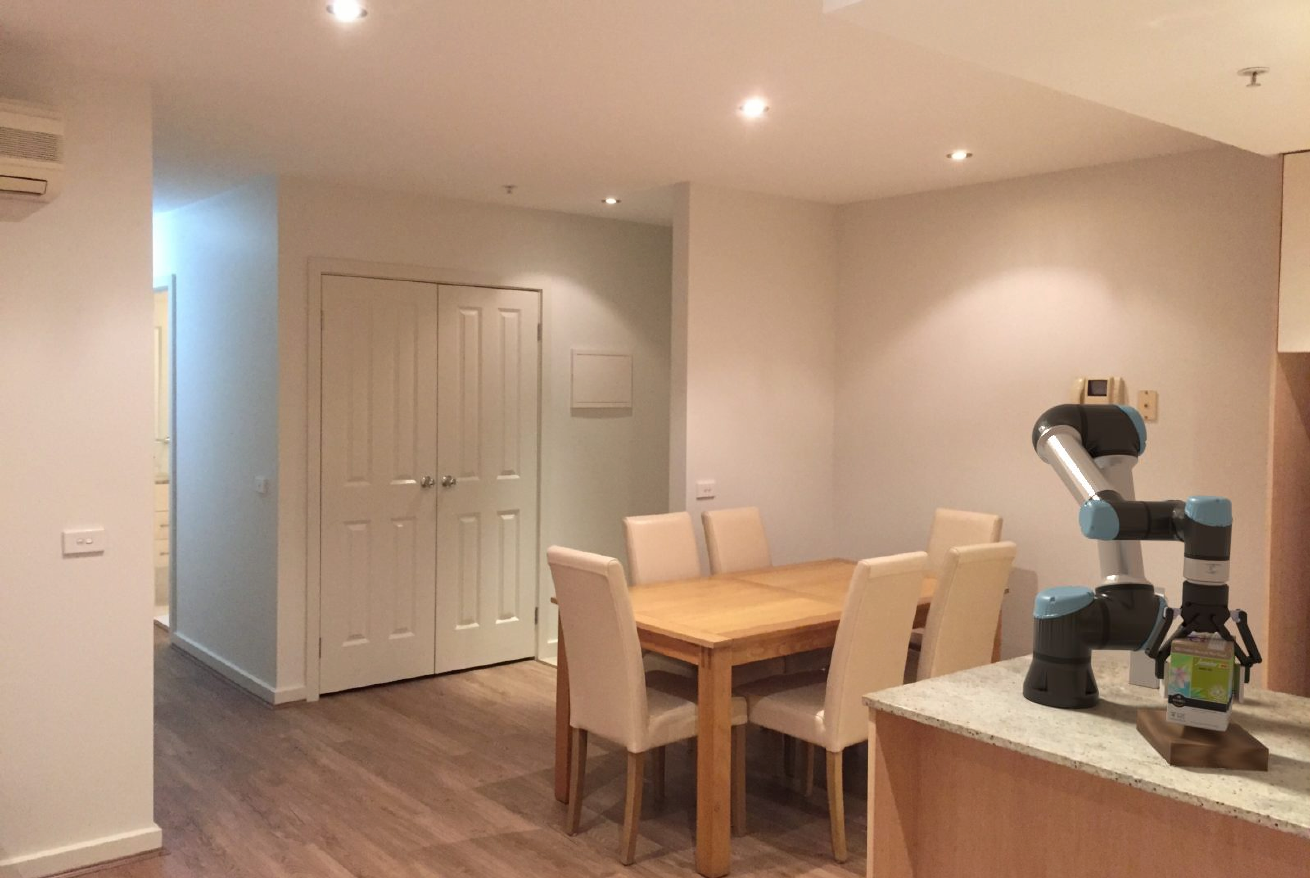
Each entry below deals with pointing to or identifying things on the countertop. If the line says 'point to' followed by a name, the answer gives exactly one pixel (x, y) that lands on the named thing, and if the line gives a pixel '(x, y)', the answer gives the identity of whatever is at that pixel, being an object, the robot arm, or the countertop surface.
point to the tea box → (1201, 681)
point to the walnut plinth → (1202, 744)
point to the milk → (1145, 661)
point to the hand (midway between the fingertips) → (1200, 698)
